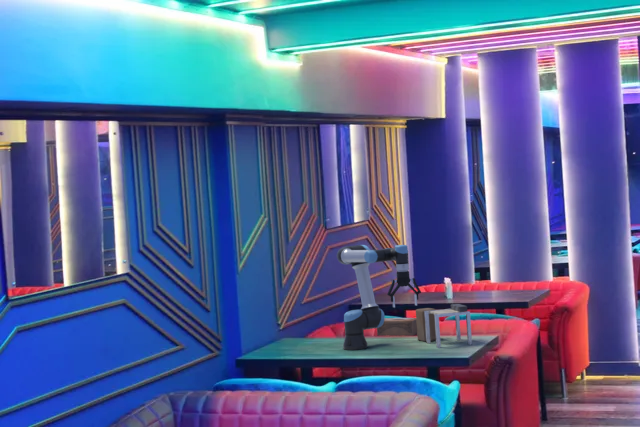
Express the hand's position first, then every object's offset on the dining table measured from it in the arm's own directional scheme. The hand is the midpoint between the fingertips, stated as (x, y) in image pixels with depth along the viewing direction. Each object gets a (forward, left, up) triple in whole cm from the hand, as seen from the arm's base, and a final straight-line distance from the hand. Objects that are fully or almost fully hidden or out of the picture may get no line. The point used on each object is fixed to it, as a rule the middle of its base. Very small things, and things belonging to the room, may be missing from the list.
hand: (405, 306), depth 571 cm
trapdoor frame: (-13, +30, -27) cm, 43 cm away
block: (-34, +23, -27) cm, 49 cm away
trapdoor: (-13, +31, -8) cm, 35 cm away
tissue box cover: (-72, +15, -28) cm, 79 cm away
